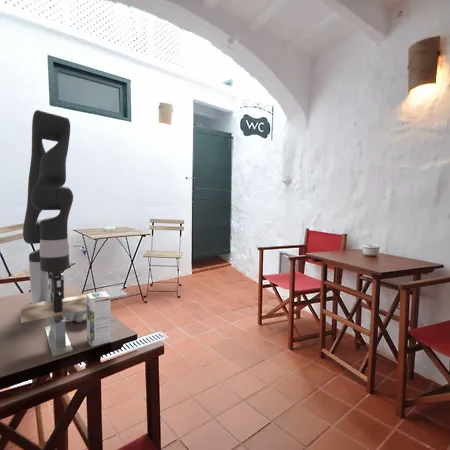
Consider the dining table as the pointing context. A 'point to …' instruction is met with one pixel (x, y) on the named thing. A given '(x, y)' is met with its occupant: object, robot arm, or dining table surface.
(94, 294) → the syrup box
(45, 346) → the dining table surface
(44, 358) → the dining table surface
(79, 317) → the chubby cartoon animal
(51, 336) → the ridge
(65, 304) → the beam
